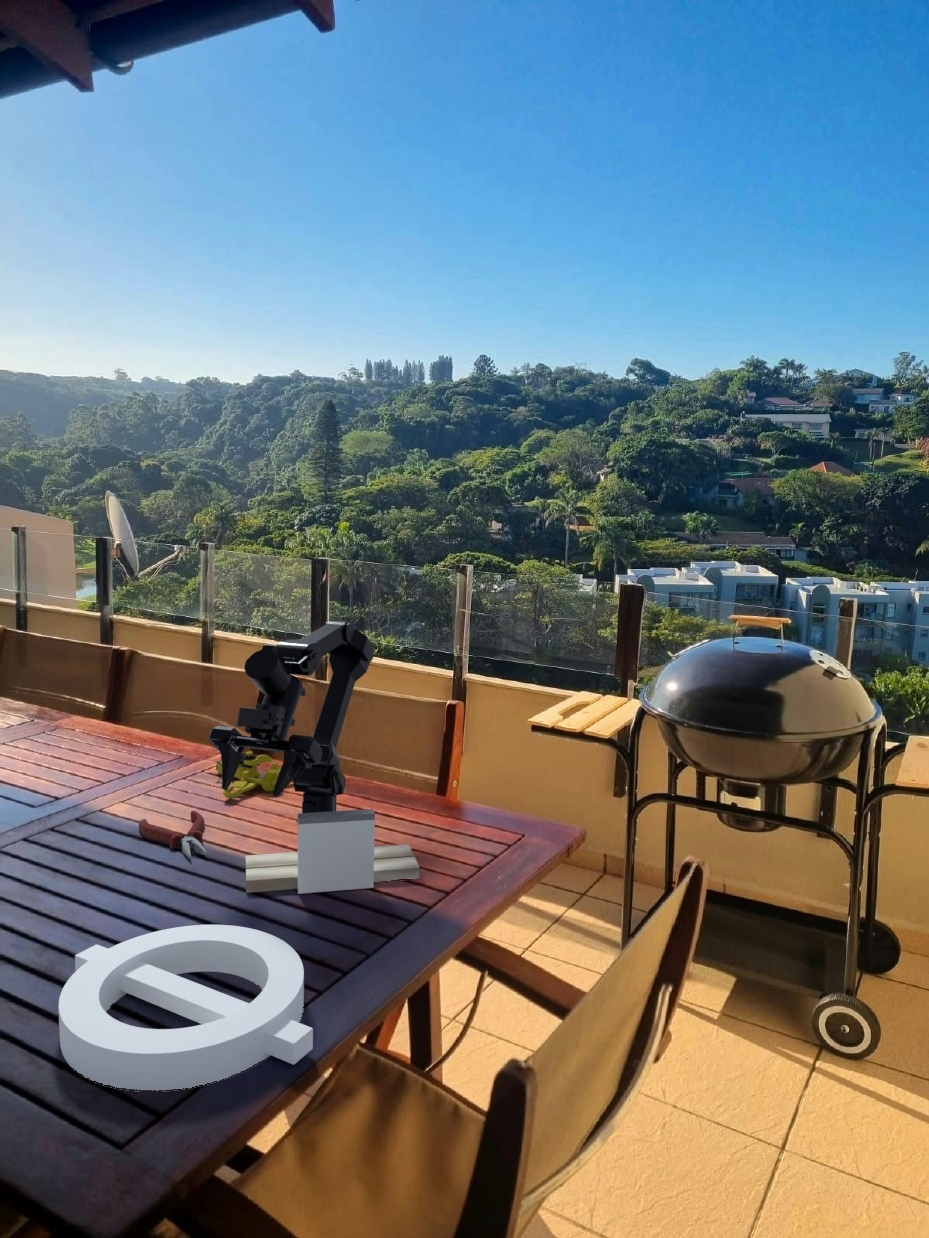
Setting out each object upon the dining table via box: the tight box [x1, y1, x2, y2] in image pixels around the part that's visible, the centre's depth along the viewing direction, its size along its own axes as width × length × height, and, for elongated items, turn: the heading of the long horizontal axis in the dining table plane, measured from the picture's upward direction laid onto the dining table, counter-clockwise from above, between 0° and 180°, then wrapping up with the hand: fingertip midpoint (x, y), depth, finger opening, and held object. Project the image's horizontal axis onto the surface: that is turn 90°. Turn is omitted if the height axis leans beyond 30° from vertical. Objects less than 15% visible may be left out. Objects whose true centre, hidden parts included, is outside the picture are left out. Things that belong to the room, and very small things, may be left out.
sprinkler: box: [215, 750, 281, 799], centre depth 191 cm, size 19×8×20 cm
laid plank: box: [245, 843, 421, 894], centre depth 148 cm, size 10×28×2 cm, turn 104°
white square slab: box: [297, 808, 376, 895], centre depth 141 cm, size 2×12×12 cm, turn 104°
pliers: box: [138, 810, 209, 860], centre depth 159 cm, size 12×20×3 cm, turn 33°
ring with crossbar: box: [58, 924, 314, 1091], centre depth 107 cm, size 28×28×5 cm
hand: (249, 792), depth 143 cm, fingers open, 9 cm apart
